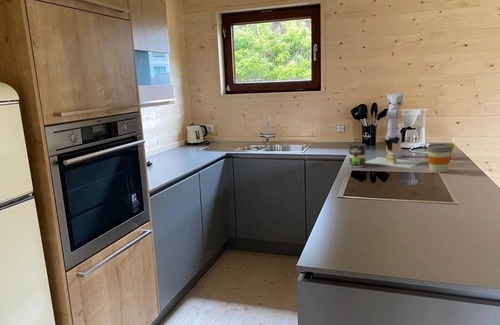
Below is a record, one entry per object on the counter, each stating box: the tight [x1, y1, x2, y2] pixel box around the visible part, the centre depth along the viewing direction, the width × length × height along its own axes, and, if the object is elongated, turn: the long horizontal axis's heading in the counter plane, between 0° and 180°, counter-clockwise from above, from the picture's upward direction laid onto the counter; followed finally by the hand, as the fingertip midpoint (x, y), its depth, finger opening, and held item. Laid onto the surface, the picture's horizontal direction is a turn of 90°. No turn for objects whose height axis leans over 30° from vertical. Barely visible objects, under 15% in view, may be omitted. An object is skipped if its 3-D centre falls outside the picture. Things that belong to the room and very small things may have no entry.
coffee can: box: [348, 142, 367, 168], centre depth 246 cm, size 10×10×14 cm
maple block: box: [385, 153, 398, 164], centre depth 247 cm, size 5×5×5 cm
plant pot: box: [438, 142, 455, 156], centre depth 252 cm, size 10×10×10 cm
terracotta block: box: [385, 143, 398, 153], centre depth 245 cm, size 5×5×5 cm
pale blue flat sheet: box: [365, 156, 422, 169], centre depth 249 cm, size 20×30×1 cm, turn 44°
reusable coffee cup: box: [427, 143, 453, 173], centre depth 221 cm, size 13×13×15 cm
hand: (392, 149), depth 245 cm, fingers open, 6 cm apart
